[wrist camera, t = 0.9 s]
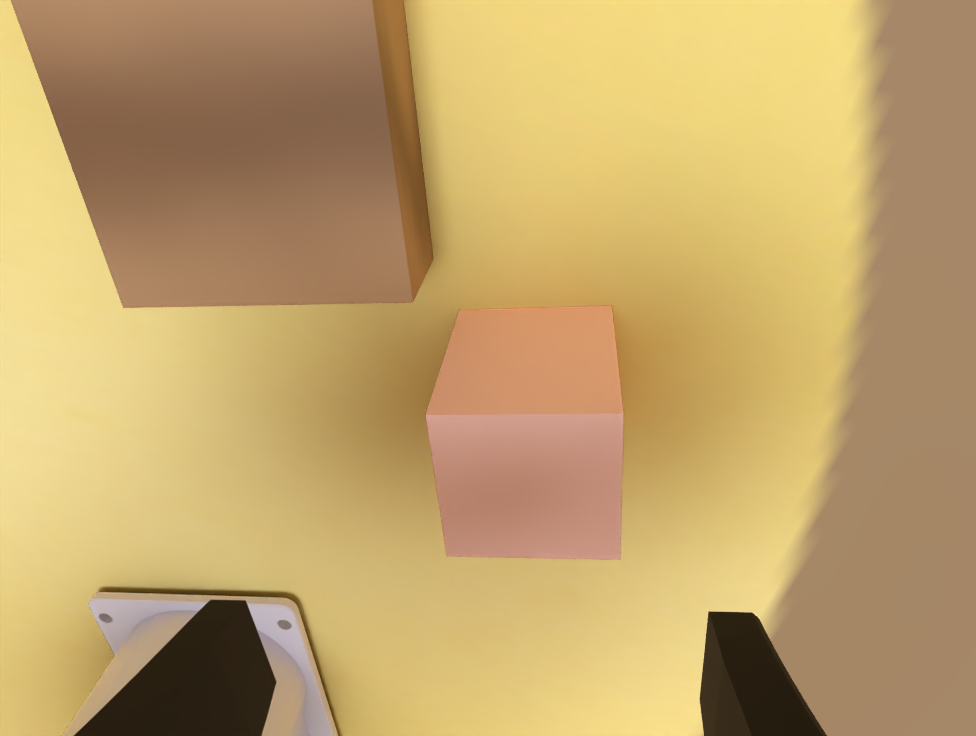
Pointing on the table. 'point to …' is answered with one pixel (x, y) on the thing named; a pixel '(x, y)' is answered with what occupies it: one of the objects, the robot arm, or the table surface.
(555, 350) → the pink block
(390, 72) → the brown block
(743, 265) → the table surface
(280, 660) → the robot arm
